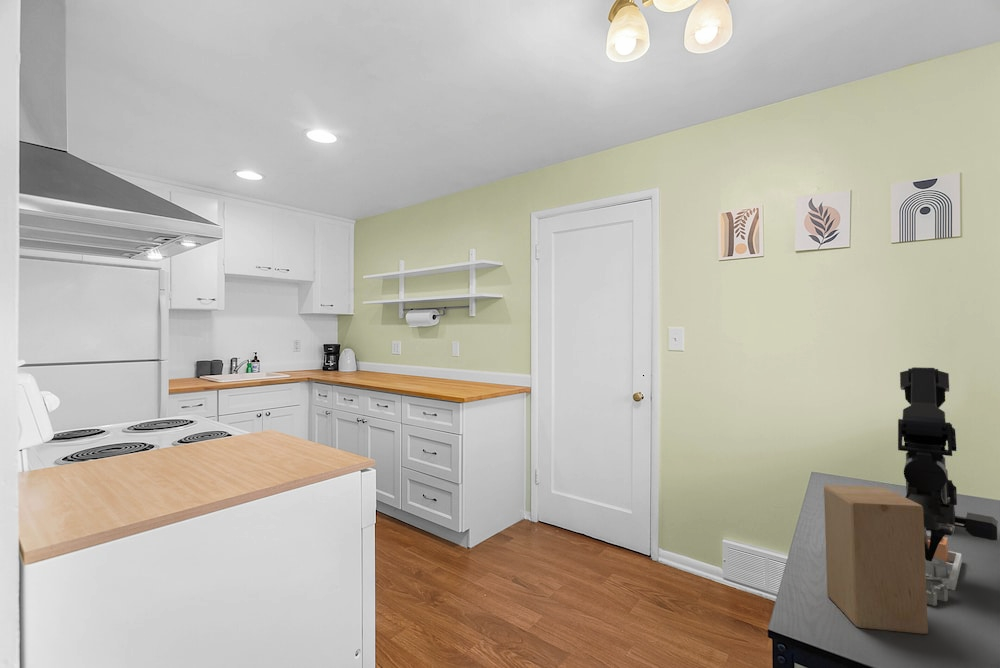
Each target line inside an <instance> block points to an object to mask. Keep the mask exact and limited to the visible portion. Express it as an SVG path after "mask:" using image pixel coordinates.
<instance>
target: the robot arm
mask: <svg viewBox="0 0 1000 668" xmlns="http://www.w3.org/2000/svg"><path fill="white" fill-rule="evenodd" d="M899 379H900V380H899V381H900V382H899V387H900V388H899V389H900V390H901V391H904V397H905V400H906V401H907V403H908V404H909V406H907V407H905V408H903V409H902V418H898V419H897V450H898V451H901V452H905V464H904V468H903V475H904V478H905V486H906V488H905V489H906V495H905V496H904V497H905V498H907V499H909V500H912V501H914V502H916V503H918V504H920V505H922V507H923V516H924V542H925V559H926V560H927V561H932V559H933V557H934V554H935V552H936V549H937V547H938V544H939V543H940V541H941V540H942V538H943V537H945V536H953V535H954V532H955V530H956V529H955V528H956V527H957V528H958V527H959V528H963V529H965V532H967V533H968V534H969V535H970V536H972V537H975V538H980V539H983V540H990V541H998V537H999V524H998V523H999V522H998V520H997V519H996V518H995V517H994V516H989V515H983V514H978V513H972V512H968V511H967V513H966V516H965V517H964V516H960V515H956V509H955V506H958V502H957V501H958V499H957V498H958V497H957V494H958V493H957V492H958V491H957V486H956V485H955V484H954V483H953V480H952V479H951V480H950V479H949V473H948V470H947V468H946V467H947V466H946V456H948V457H953V452H957V438H956V437H957V436H956V429H955V428H954V427H953V424H951V422H947V421H946V412H945V411H944V410H942V409H940V407H942V405H943V404H944V403H945V402H946V393H948V392H949V393H950V374H949V373H948V372H944V371H942V370H939V369H938V368H935V367H917V366H916V367H914V366H913V367H911V368H908V370H903V371H900V372H899ZM903 442H904V445H903ZM946 447H947V449H946ZM927 530H930V532H931V538H930V545H928V539H927V532H926V531H927Z"/></svg>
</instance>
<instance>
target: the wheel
mask: <svg viewBox="0 0 1000 668" xmlns="http://www.w3.org/2000/svg"><path fill="white" fill-rule="evenodd" d="M925 568H926V572H927V573H928V575H933V576H935V577H940V578H946V577H948V564H947V562H945V561H943V560H941V559H937V558H935V557H933V559H932V561H927V560H926V559H925Z"/></svg>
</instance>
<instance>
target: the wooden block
mask: <svg viewBox="0 0 1000 668" xmlns="http://www.w3.org/2000/svg"><path fill="white" fill-rule="evenodd" d="M823 493H824V494H823V496H824V497H823V498H824V499H823V501H824V526H825V527H824V529H825V530H824V531H825V561H826V563H825V564H826V566H825V567H826V589H827V590H826V592H827V596H828V598H829V599H830V600H831V601H832V603H834V604H835V605H836V607H838V608H839V610H840V611H841V612H842V613H843V614H844V615H845V616H846V617H847V618H848V620H850V621H851V623H852V624H854V626H855V627H857V628H860V629H871V630H879V631H880V630H881V631H890V632H891V631H892V632H901V633H910V634H911V633H912V634H922V635H927V634H928V633H929V628H928V626H929V625H928V604H927V594H926V568H925V542H924V516H923V507H922V505H920V504H918V503H916V502H914V501H912V500H909V499H907V498H905V497H906V496H903V495H901V494H900V493H897V492H895V491H893V490H891V489H889V488H887V487H884V486H883V487H882V486H865V485H864V486H860V485H859V486H858V485H834V484H826V485H824V486H823Z"/></svg>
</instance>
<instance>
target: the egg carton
mask: <svg viewBox="0 0 1000 668" xmlns="http://www.w3.org/2000/svg"><path fill="white" fill-rule="evenodd" d="M949 582H950V579H942V578H940V577H937V578H936V577H935V576H933V575H928V573H927V572H926V594H927V605H931V606H933V607H934V606H937V605H938V601H942V602H947V601H948V600H949V599H948V597H949V596H948V595H949V594H948V589H947V586H948V584H949Z"/></svg>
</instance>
